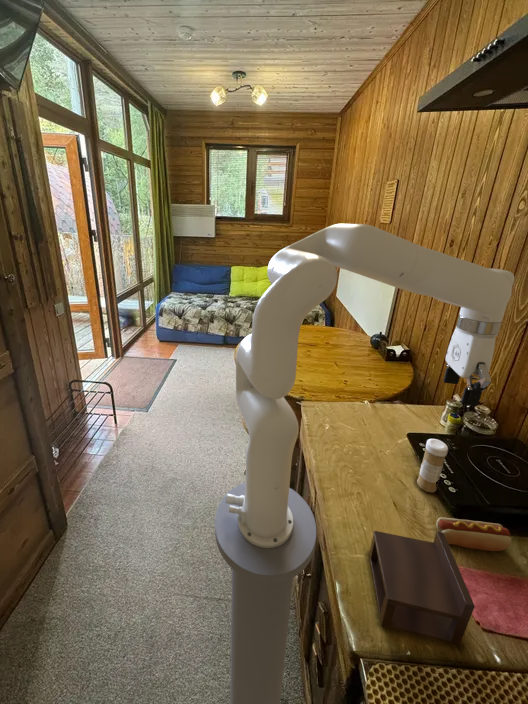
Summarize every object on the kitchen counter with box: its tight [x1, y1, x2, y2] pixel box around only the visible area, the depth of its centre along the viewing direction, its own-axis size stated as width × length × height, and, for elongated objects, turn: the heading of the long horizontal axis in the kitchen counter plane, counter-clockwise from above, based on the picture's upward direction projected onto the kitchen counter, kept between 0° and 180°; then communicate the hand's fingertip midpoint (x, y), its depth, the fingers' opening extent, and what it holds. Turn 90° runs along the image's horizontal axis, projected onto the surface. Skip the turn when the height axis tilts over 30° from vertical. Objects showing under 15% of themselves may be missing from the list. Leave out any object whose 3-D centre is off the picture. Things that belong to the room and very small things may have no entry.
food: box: [435, 516, 513, 552], centre depth 66 cm, size 14×6×5 cm, turn 84°
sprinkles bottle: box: [416, 438, 449, 493], centre depth 78 cm, size 5×5×13 cm
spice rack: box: [368, 530, 476, 647], centre depth 55 cm, size 12×12×10 cm
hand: (459, 393), depth 73 cm, fingers open, 9 cm apart
